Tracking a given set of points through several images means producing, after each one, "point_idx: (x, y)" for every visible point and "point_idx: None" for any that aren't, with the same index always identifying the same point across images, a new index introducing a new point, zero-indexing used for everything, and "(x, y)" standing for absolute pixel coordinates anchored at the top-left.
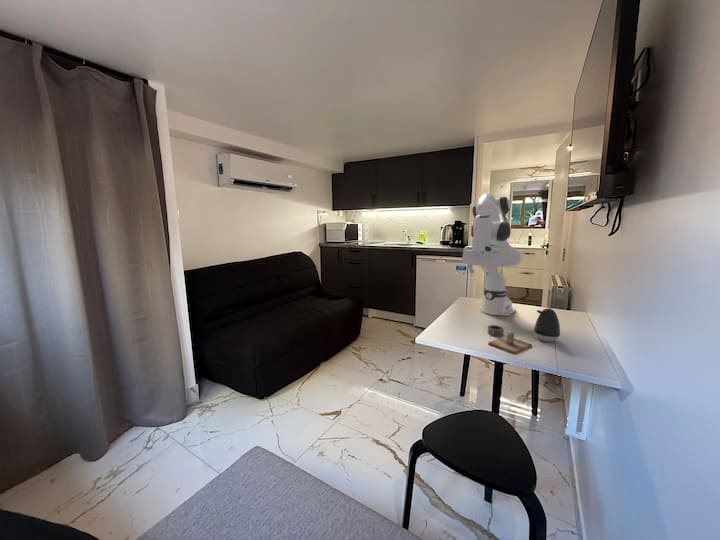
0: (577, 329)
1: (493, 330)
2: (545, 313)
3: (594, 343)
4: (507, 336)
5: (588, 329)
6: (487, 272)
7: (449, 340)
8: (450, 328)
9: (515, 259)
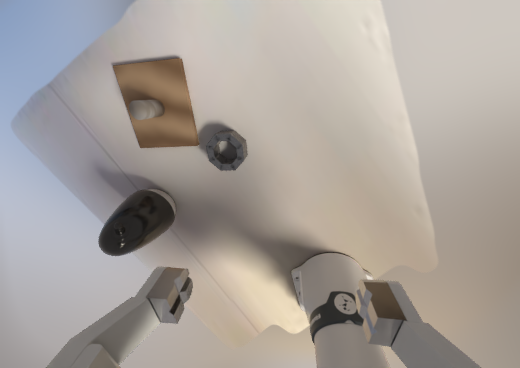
0: None
1: (217, 133)
2: (110, 229)
3: None
4: (146, 100)
5: None
6: (148, 294)
7: None
8: (328, 62)
9: None
